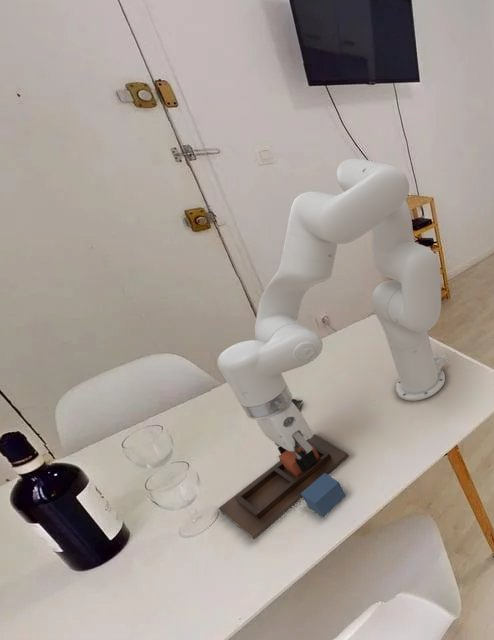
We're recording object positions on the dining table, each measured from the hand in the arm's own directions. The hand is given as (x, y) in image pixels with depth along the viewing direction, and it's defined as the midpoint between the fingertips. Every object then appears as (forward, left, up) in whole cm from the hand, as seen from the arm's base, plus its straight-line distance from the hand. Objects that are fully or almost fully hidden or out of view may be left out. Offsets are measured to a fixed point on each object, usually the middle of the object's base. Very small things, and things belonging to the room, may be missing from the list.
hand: (300, 459), depth 88 cm
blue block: (+3, +11, -3) cm, 12 cm away
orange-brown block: (0, 0, -2) cm, 2 cm away
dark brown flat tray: (+4, 0, -3) cm, 5 cm away
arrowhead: (-7, -19, -3) cm, 20 cm away
